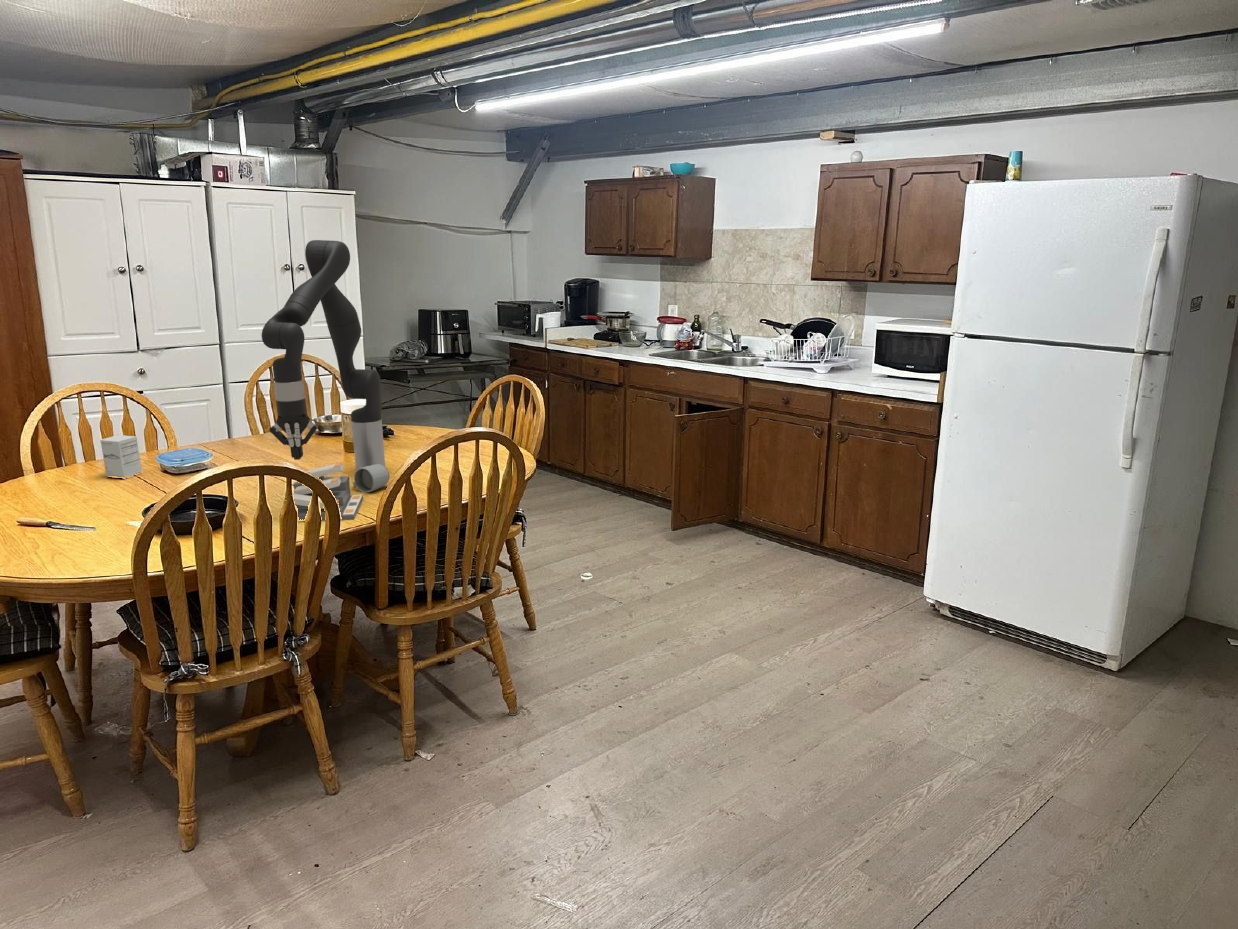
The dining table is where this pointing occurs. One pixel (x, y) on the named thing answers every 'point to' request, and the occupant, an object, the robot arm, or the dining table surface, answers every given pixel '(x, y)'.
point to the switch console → (342, 493)
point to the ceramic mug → (371, 478)
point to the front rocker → (305, 500)
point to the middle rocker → (329, 483)
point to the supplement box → (121, 456)
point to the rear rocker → (327, 470)
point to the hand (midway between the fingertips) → (297, 458)
